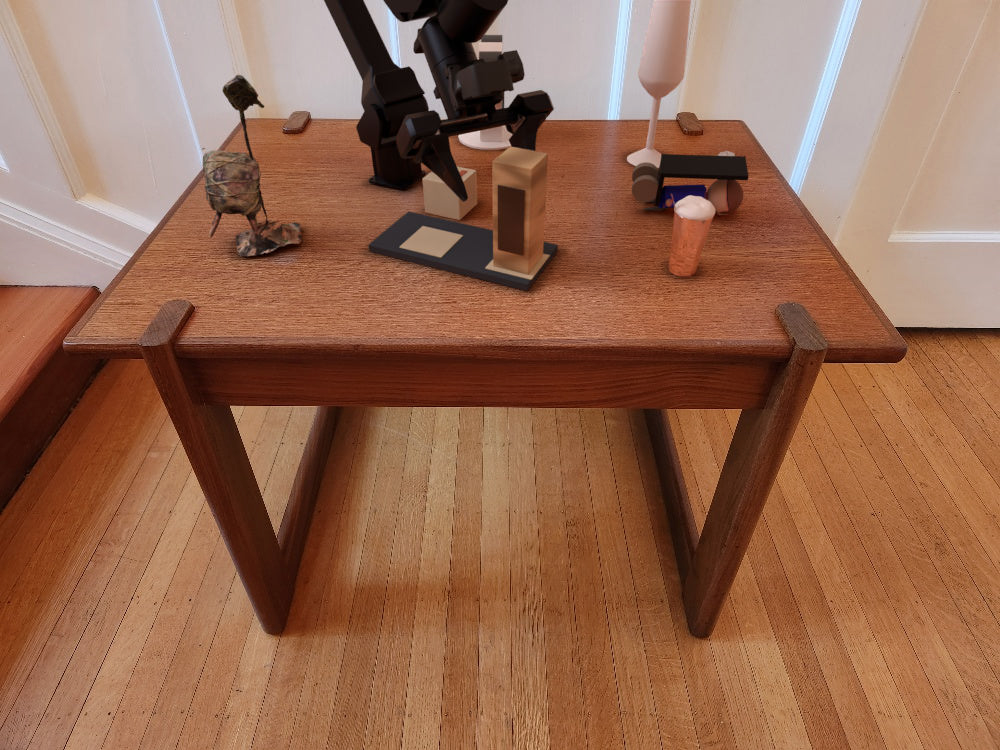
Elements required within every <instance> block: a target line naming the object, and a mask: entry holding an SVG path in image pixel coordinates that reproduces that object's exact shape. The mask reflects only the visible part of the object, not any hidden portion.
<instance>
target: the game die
mask: <svg viewBox="0 0 1000 750" xmlns="http://www.w3.org/2000/svg"><path fill="white" fill-rule="evenodd" d="M716 156H736V153H735V152H733V151H732V152H731V151H728V150H724V151H720V152H719V153H718V154H717V155H716Z"/></svg>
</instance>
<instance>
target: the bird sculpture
mask: <svg viewBox="0 0 1000 750" xmlns="http://www.w3.org/2000/svg"><path fill="white" fill-rule="evenodd" d="M222 93H223V95H224V96H225V98H226V99H227V101H228V103H229V104H230V105H231V107H232V108H233V109H234V110H235V111H238V112H239V113H238V114H239V120H240V122H241V123H240V124H241V125H242V129H243V137H244V141H245V145H246V149H247V151H248V153H247V152H239V151H238V152H234V151H227V150H226V151H225V150H224V151H223V150H220V149H213V150H210V151H208V152H205V153H204V154H203V156H202V170H203V173H204V175H203V178H204V180H205V184H204V187H203V189H204V190H205V195H206V196H205V199H206V201H207V203H208V206H210V208H211V209H212V210H213V211H216V213H215V215H214V218H213V221H212V223H211V228H210V230H209V233H208V238H210V239H211V238H213V237H214V235H215V233H216V231H217V228H218V226H219V224H220V223H221V222H220V221H221V218H222V215H223V214H226V215H241V216H243V217H246V220H247V221H248V222H249V226H250V227H251V228H250V229H249V230H248V229H245V230H242V231H241V232H239V233H237V234H235V238H234V240H235V244H236V247H235V248H236V251H237V253H238V256H240V257H246V258H247V257H251V256H257V255H263V254H264V253H265V254H268V253H271V252H273V251H275V250H277V249H278V248H279V247H285V246H287V245H289V244H290V245H291V244H297V245H299V244H300V243H301V242H302V241H303V239H302V238H303V236H302V234H303V232H304V230H302V228H301V225H302V224H301V223H300V222H296V221H293V222H289V223H287V224H286V223H282V222H280V220H279V219H278V217H275V216H274V217H269V218H268V215H267V210H266V207H265V204H264V199H263V196H262V192H261V176H262V172H261V170H260V164H259V163H258V161H257V159H256V158H255V157H254V156H253V152H252V147H251V143H250V140H249V135H248V131H247V128H248V127H247V123H246V116H245V111H247V110H248V109H249V108H250V107H254V105H258V107H259V108H261V109H264V108H265V104H263V103H262V102H261V100H259V98H258V97H259V94H258V92H257V91H256V89H255V87H254V86H252V84H251V83H250V82H249V81H248V80H247V78H245V76H244V75H242V74H236V75H235V76H234V77H232V78H231V79H230V80H228V81H227V82H226V83H225V84H224V85H223V87H222ZM205 149H206V148H205V147H202V148H201V150H205ZM261 210H262V211H263V213H264V216H265V219H263V220H260V221H258V217H257V214H258V213H259V212H260V211H261Z"/></svg>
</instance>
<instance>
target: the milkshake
mask: <svg viewBox="0 0 1000 750" xmlns="http://www.w3.org/2000/svg"><path fill="white" fill-rule="evenodd" d="M671 196H672V194H671ZM672 200H673V196H672ZM673 204H674V208H673V221H672V236H671V243H670V244H671V245H670V253H669V254H670V255H669V261H668V272H670V273H672V274H673V275H675V276H679V277H691V276H693V275H694V274H695V273H696V272H697V268H698V266H699V261H700V258H701V255H702V253H703V249H704V246H705V243H706V240H707V237H708V234H709V231H710V229H711V225H712V223H713V220H714V217H715V214H716V213H715V208H714V206H713V205H712V203H711V202H710V201H708V200H706V199H704V198H703V197H700V196H692V195H690V196H687V197H685V198H683V199H681V200H680V201H678V202H677V203H676V204H675V203H674V200H673Z"/></svg>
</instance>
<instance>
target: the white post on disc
mask: <svg viewBox="0 0 1000 750" xmlns="http://www.w3.org/2000/svg"><path fill="white" fill-rule="evenodd" d="M500 54H503V34H485V35H484V36H483V37H482V39H481V40H480V41H479V43H478V57H477V59H484V61H485V62H491V61H497V57H498V55H500ZM502 96H503V99H502V101H501V102H500V103H498V104H496V105H495V108H496V110H497V109H502V108H505V92H502ZM512 135H513V134H511V133H510V132H508V131H507V129H506V126H500V127H495V128H490V129H485V130H481V131H476V132H471V133H466V134H461V135H457V137H458V141H459V142H460V143H461V144H462V145H464V146H466V147H468V148H471V149H475V150H480V151H481V150H482V151H499V150H507V149H508V148H509V147H512V146H511V144H510V142H509V139H510V137H511V136H512Z"/></svg>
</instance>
